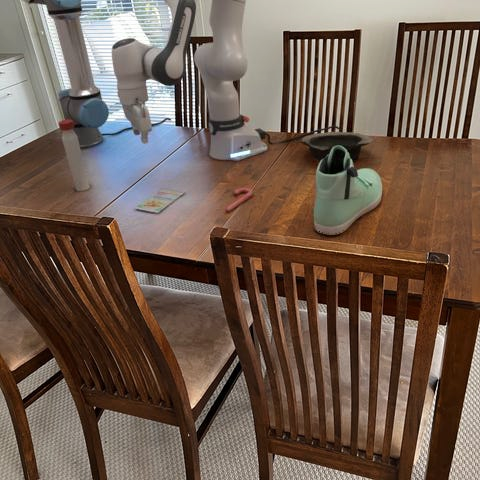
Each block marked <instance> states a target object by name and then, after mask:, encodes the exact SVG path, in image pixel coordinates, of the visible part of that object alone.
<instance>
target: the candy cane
mask: <svg viewBox="0 0 480 480" xmlns="http://www.w3.org/2000/svg"><path fill="white" fill-rule="evenodd" d="M242 193H246V194H244V195H243V196H242V197H240V198H238V199H237V200H235V201H234V202H233V203H231V204H230V205H228V206H227V207H226V208H225V209H224V210H225V212H226V213H230V212H231V211H232V210H234V209H236V208H237V207H238V206H240V205H241V204H242V203H244V202H245V201H246V200H248V199H249V198H251V197H252V196H253V195H254V193H253V190H252V189H251V188H248V187H239V188H237V189H234V191H233V195H234V196H238V195H239V194H242Z"/></svg>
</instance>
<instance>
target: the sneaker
mask: <svg viewBox="0 0 480 480" xmlns="http://www.w3.org/2000/svg"><path fill="white" fill-rule="evenodd" d="M317 165H318V166H317V168H316V172H315V201H314V207H313V225H314V229H315V231H316V232H318V233H320V234H323V235H326V236H327V235H328V236H336V235H339V234H342V233H344V232H345V231H347V230H348V229H349V228H350V227H351V226H352V225H353V224H354V222H356V221H357V220H358V219H359V218H360V217H362V216H363V215H365V214H367V213H370V212H372V210H374V209H375V208H377V207H378V205H380V203H381V200H382V196H383V184H382V183H383V182H382V179H381V176H380V175H379V173H378V172H377V171H376V170H374V169H372V168H367V167H365V168H358V169H357V168H355V167H354V161H352V159H350V156H349V153H348V152H347V150H346V149H345V148H344V147H342V146H334V147H333V148H332V149H331V152H330V154H329V155H327V156H326V157H325V158H324V159H322V160H321V161H320V163H319V162H318V164H317ZM343 230H344V231H343ZM319 231H320V232H319ZM322 232H323V233H322ZM339 232H340V233H339ZM326 233H327V234H326ZM328 233H329V234H328ZM335 233H337V234H335Z"/></svg>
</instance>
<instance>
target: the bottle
mask: <svg viewBox="0 0 480 480" xmlns="http://www.w3.org/2000/svg"><path fill="white" fill-rule="evenodd" d="M61 141H62V144H63V147H64V151H65V155H66V159H67V162H68V166H69V170H70V173H71V177H72V181H73V185H74V188H75V190H76V191H77V192H83V191H84V192H85V191H87V190H89V189H90V188H91V185H90V181H89V178H88V174H87V169H86V165H85V162H84V157H83V154H82V149H80V145H79V142H78V138H77V135H76V133H75V132H74V131H73V129H71V130H67V131H62V134H61Z"/></svg>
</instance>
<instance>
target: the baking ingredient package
mask: <svg viewBox="0 0 480 480" xmlns="http://www.w3.org/2000/svg"><path fill="white" fill-rule="evenodd" d="M183 194H184V192H182V191H177V190H176V191H175V190H169V189H164V188H161V189H159V190H158V191H157V192H155V193H154V194H153V195H151V196H150V197H148V198H147V199H145V200H144V201H142V202H141V203H140V204H138V205H137V206H135V207H134V209H135V210H140V211H146V212H151V213H156V214H157V213H160V212H161V211H162V210H164V209H165V208H167V206H169V205H170V204H172V203H173V202H175V201H176V200H177V199H178V198H179V197H181V196H182V195H183Z"/></svg>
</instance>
